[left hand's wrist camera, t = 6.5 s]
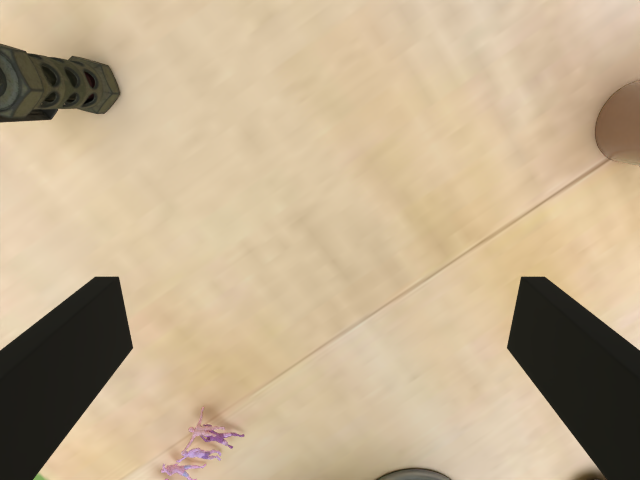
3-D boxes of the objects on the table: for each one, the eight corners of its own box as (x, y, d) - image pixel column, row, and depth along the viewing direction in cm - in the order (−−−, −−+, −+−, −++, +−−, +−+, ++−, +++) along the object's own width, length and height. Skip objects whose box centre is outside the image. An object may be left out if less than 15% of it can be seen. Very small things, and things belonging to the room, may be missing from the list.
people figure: (174, 515, 52) (122, 509, 47) (176, 470, 56) (128, 461, 52) (265, 446, 48) (217, 433, 43) (259, 404, 52) (215, 388, 48)
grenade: (81, 27, 34) (-85, -26, 20) (134, 77, 36) (13, 60, 22) (29, 99, 36) (-154, 98, 22) (81, 144, 38) (-61, 169, 24)
